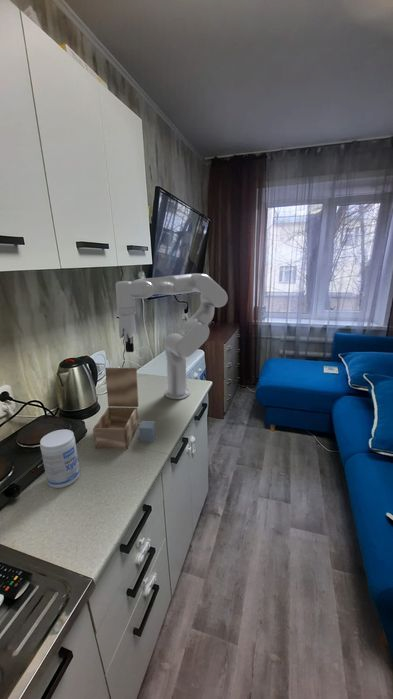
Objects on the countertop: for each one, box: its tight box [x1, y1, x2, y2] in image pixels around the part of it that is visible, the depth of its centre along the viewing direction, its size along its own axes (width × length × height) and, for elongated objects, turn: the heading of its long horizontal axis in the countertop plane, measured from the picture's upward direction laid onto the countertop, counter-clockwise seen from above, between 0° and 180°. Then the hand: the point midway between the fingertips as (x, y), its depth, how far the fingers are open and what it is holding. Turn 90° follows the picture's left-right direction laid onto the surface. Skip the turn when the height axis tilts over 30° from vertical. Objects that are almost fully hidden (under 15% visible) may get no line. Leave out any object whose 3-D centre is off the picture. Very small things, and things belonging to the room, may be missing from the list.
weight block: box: [138, 420, 157, 443], centre depth 108 cm, size 5×5×6 cm
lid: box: [105, 367, 139, 408], centre depth 115 cm, size 16×12×1 cm
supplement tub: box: [39, 429, 81, 489], centre depth 87 cm, size 10×10×15 cm
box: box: [92, 407, 140, 450], centre depth 110 cm, size 16×12×8 cm
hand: (130, 351), depth 127 cm, fingers closed
